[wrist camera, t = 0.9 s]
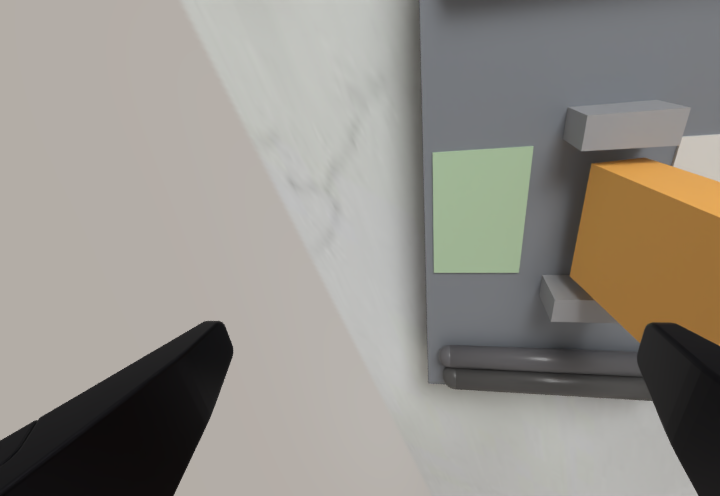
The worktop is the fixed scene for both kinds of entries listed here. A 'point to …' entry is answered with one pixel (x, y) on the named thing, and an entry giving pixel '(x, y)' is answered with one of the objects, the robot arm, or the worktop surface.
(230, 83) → the worktop surface
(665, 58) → the panel
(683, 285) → the lever
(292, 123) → the worktop surface
